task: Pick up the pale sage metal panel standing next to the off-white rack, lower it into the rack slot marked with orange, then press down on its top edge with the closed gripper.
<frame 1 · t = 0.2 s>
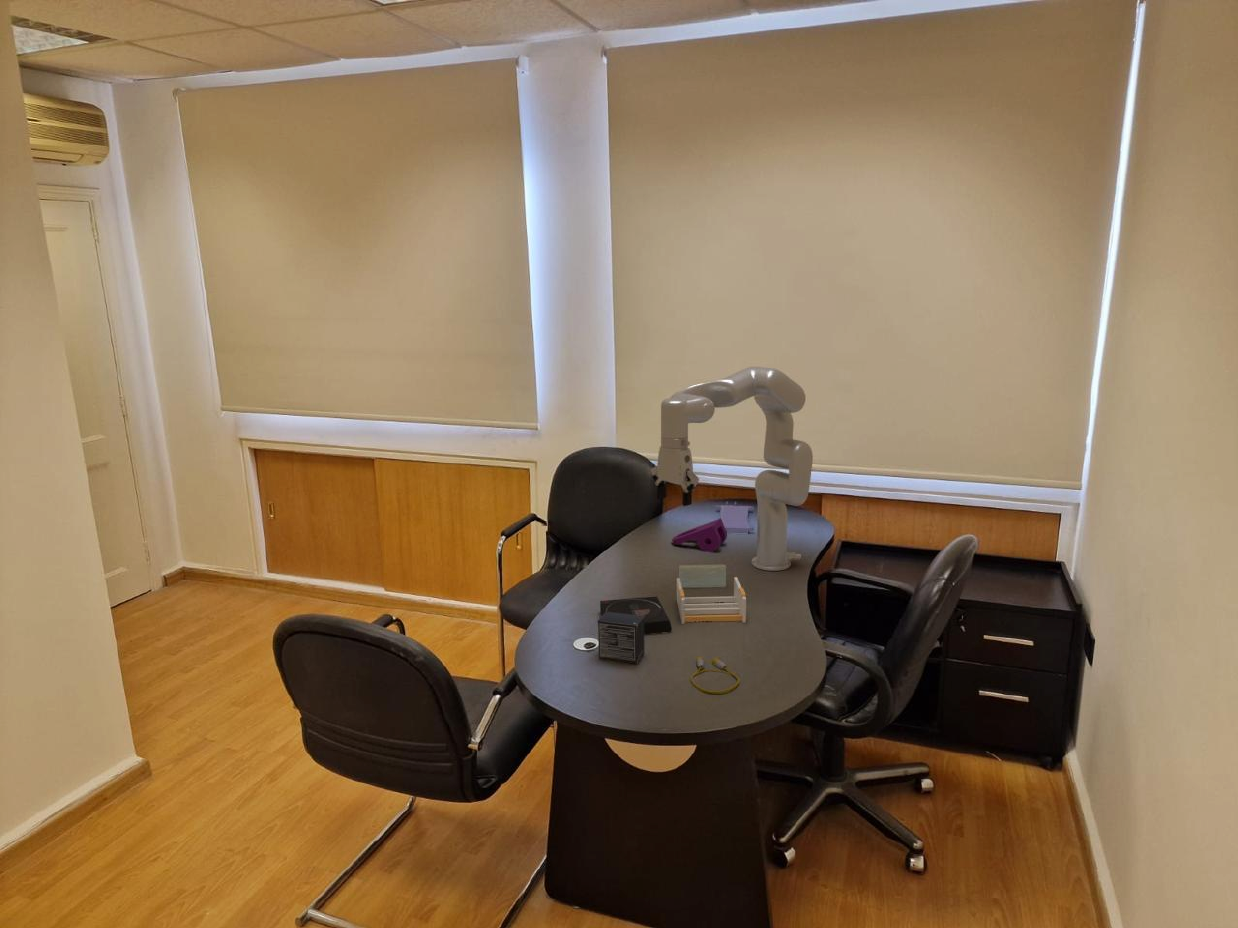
hand: (674, 501, 229), 30 cm above the table, tool pointing down, fingers open, 9 cm apart
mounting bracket: (697, 546, 283), on the table
computer part: (733, 522, 310), on the table
small box: (622, 656, 203), on the table
rack: (710, 611, 229), on the table
panel: (702, 586, 247), on the table
portable cd player: (635, 624, 223), on the table
extension cord: (715, 679, 192), on the table
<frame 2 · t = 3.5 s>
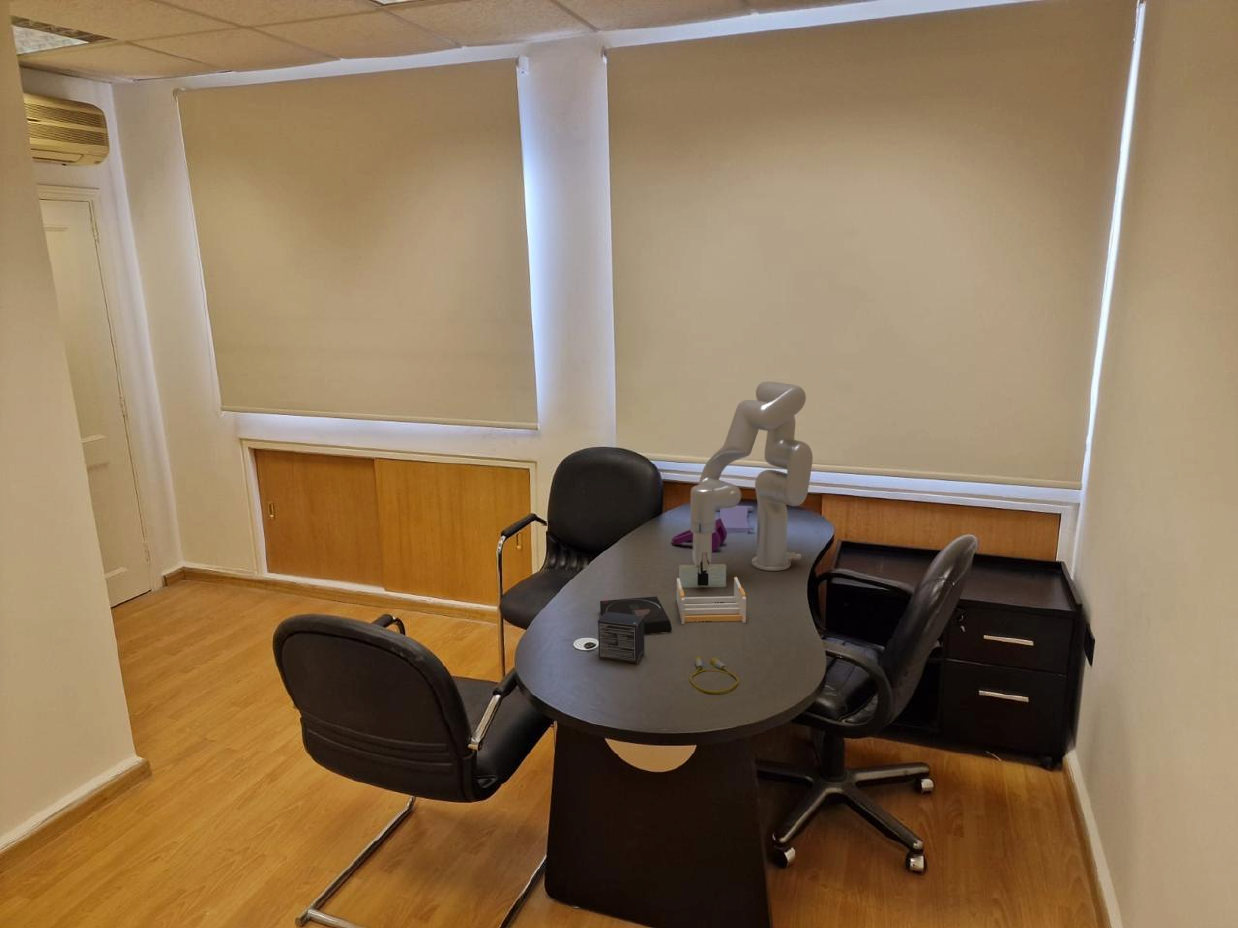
hand: (702, 582, 247), 1 cm above the table, tool pointing down, fingers closed on panel, 2 cm apart
panel: (702, 585, 247), on the table, touching gripper
everything else where it was.
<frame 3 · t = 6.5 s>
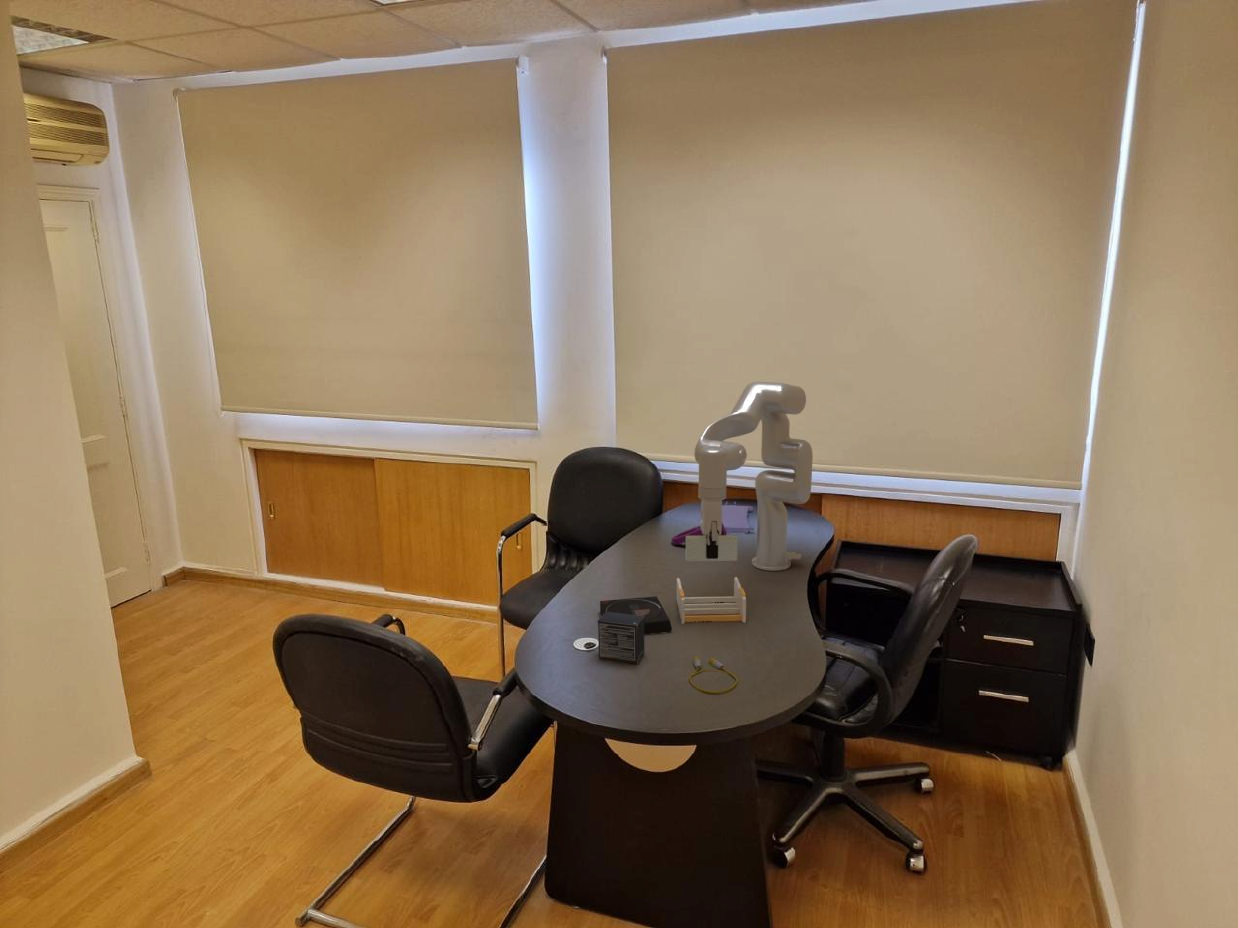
hand: (711, 555, 222), 18 cm above the table, tool pointing down, fingers closed on panel, 2 cm apart
panel: (711, 559, 223), point 17 cm above the table, touching gripper
everything else where it was.
when the fingers open (2 cm above the table, at t = 9.8 s): panel drops 1 cm, resting in rack.
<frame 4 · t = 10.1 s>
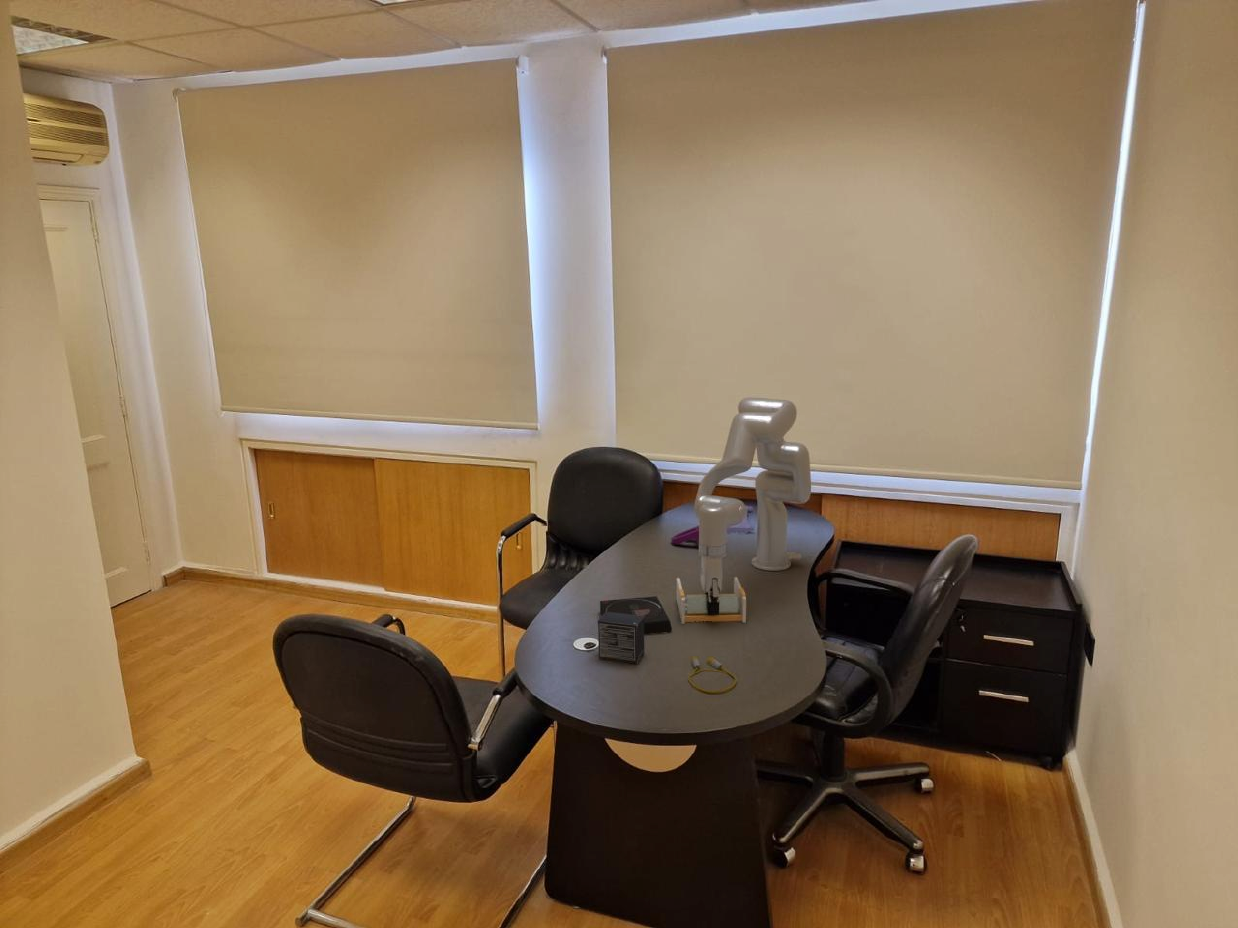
hand: (711, 609, 224), 2 cm above the table, tool pointing down, fingers open, 4 cm apart
panel: (711, 617, 225), resting in rack
everything else where it was.
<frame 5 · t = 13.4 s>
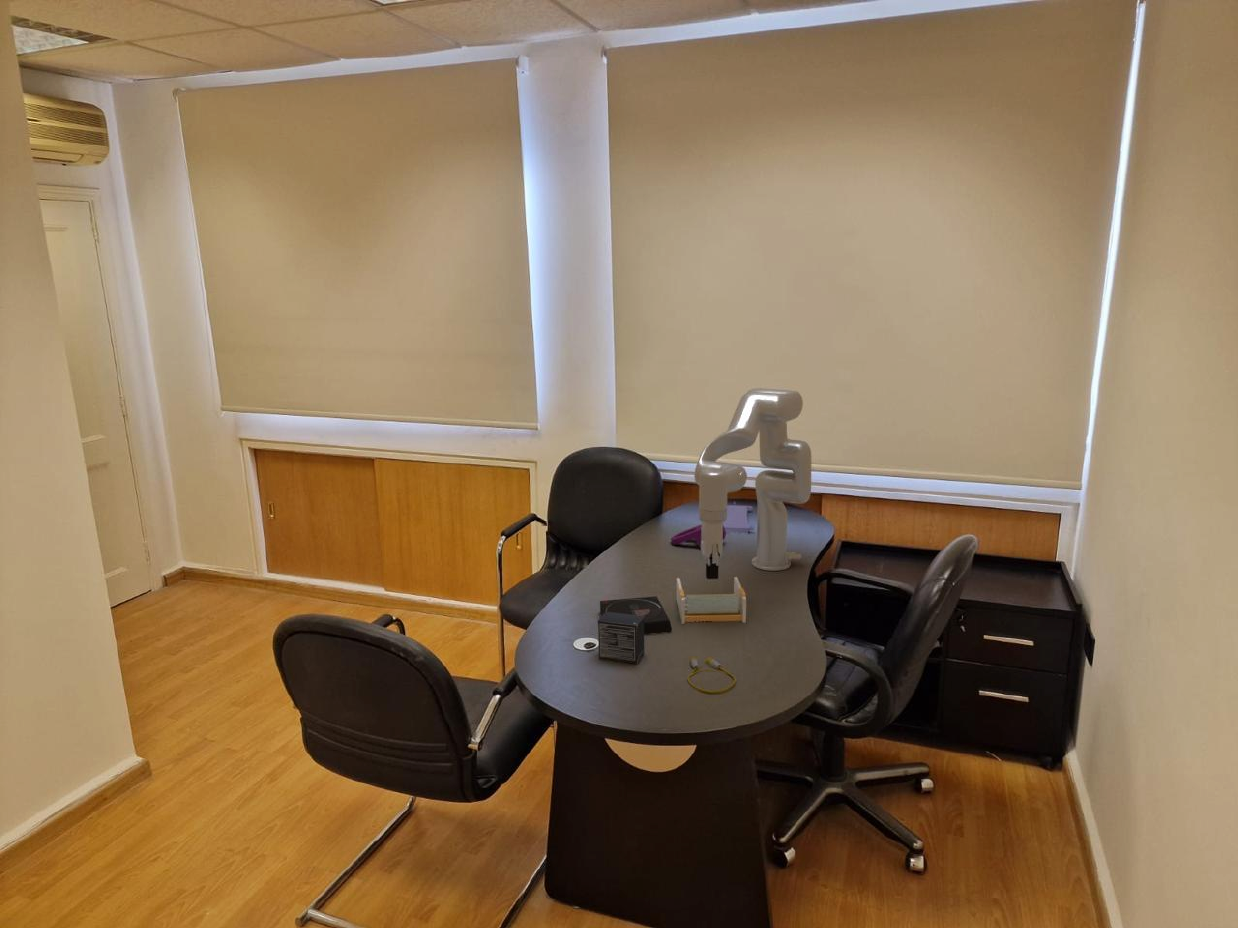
hand: (712, 577, 222), 12 cm above the table, tool pointing down, fingers closed
nothing on the table moved.
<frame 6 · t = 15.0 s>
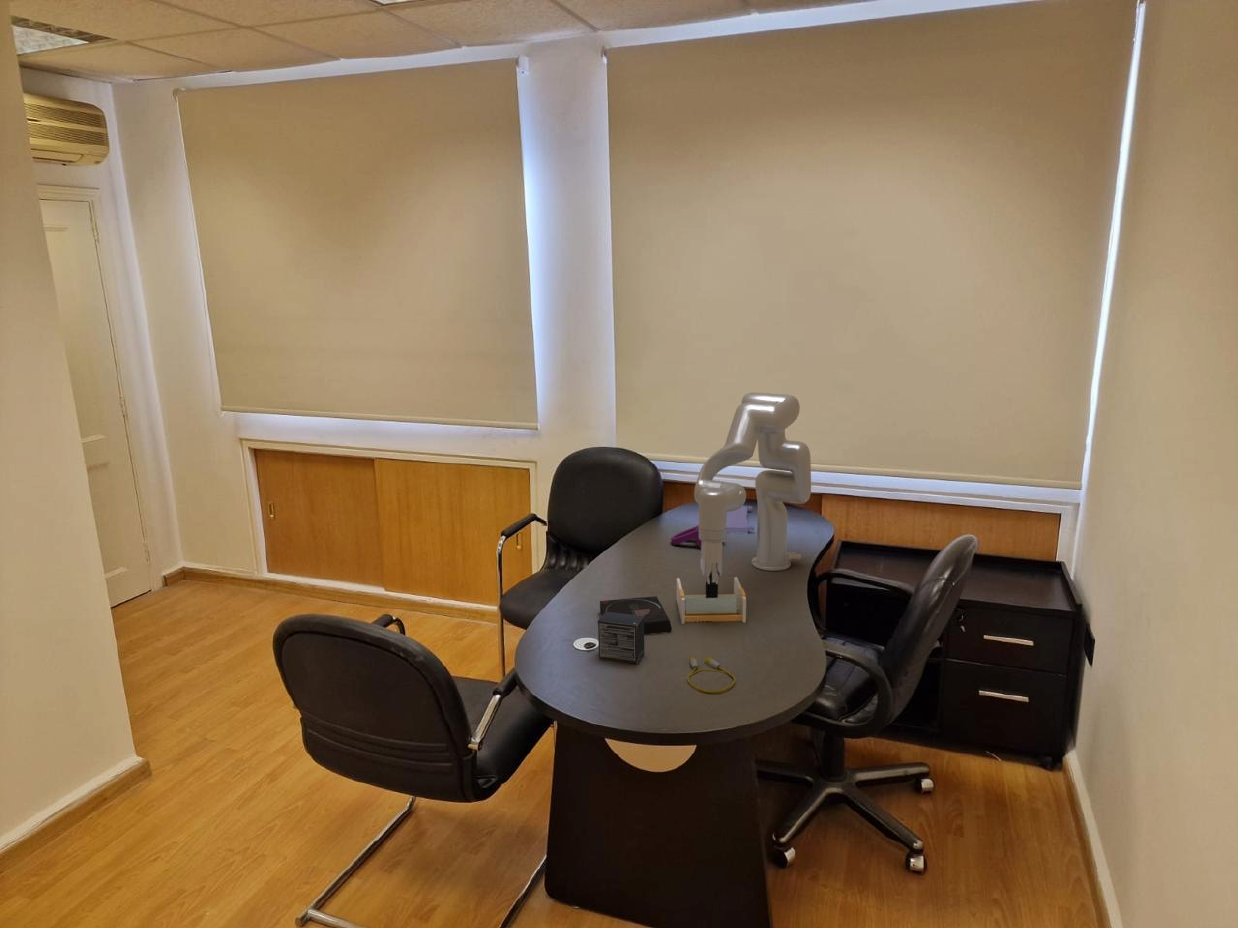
hand: (711, 596, 223), 6 cm above the table, tool pointing down, fingers closed
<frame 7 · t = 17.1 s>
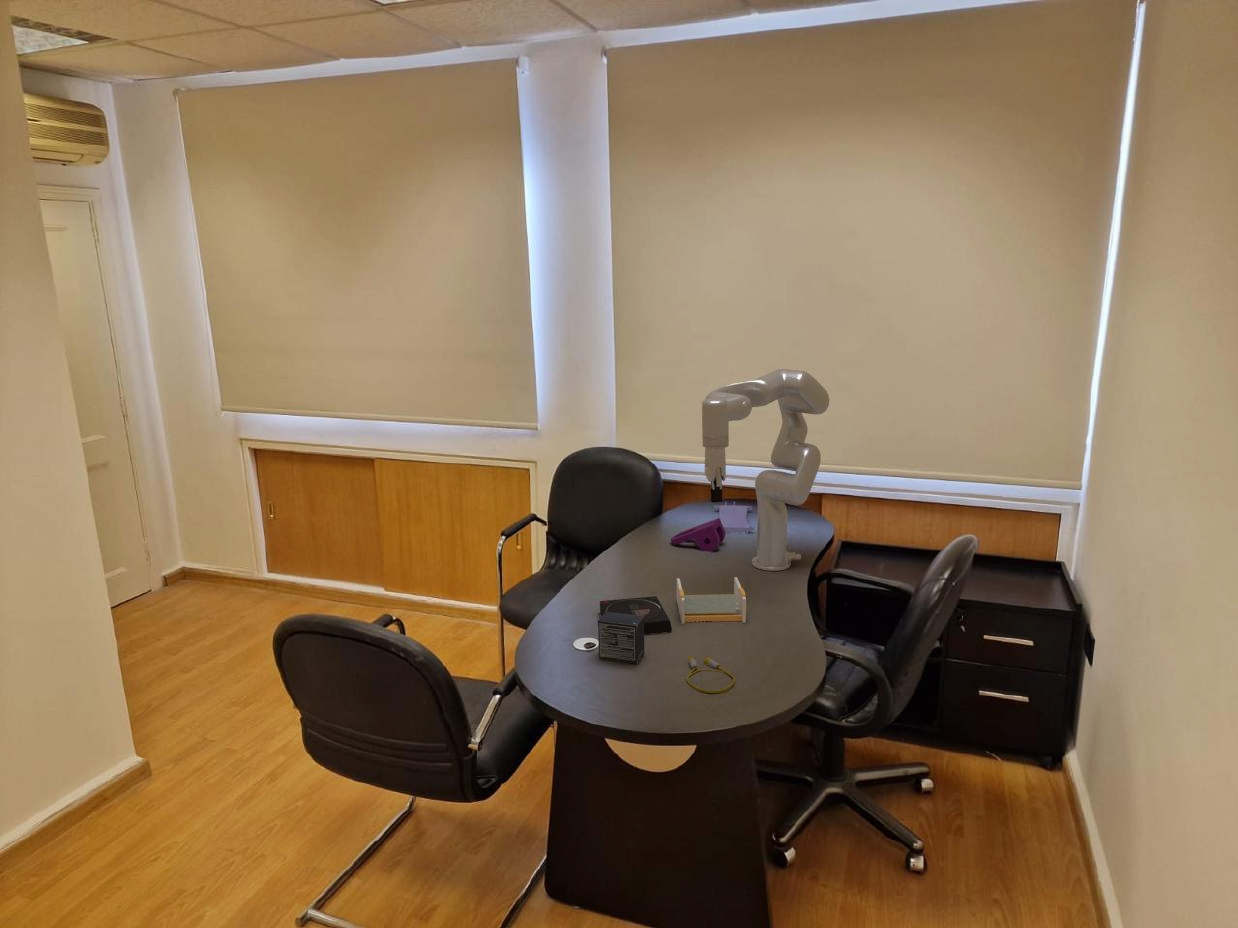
hand: (716, 501, 237), 28 cm above the table, tool pointing down, fingers closed
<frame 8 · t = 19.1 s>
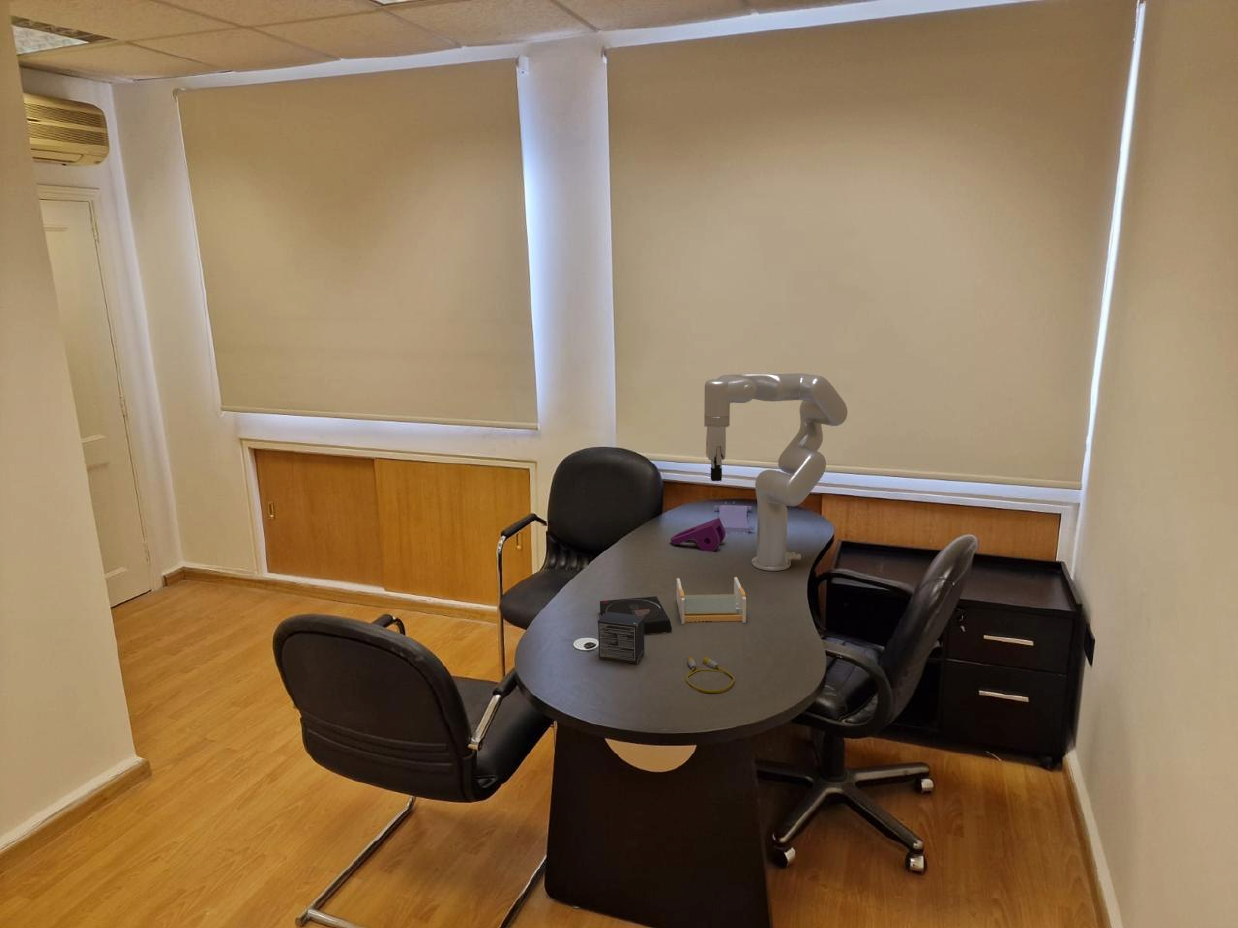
hand: (716, 480, 245), 32 cm above the table, tool pointing down, fingers closed
at the end: panel 0.5 cm from the target spot on the rack, point 0.0 cm above the rack's base; panel tilted 0°; the gripper is holding nothing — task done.
